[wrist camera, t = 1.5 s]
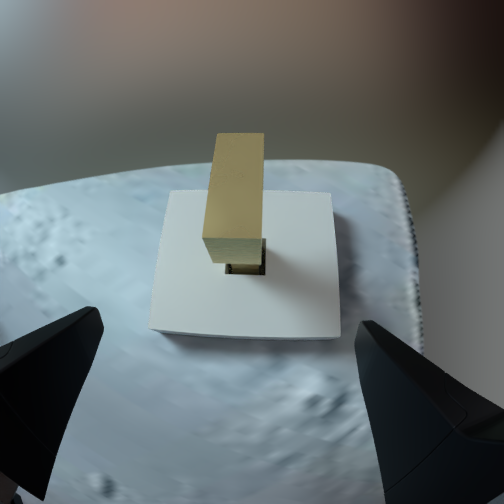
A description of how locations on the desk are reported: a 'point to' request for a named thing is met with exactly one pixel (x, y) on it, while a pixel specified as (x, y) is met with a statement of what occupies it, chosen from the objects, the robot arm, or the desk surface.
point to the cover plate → (250, 286)
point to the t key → (236, 202)
